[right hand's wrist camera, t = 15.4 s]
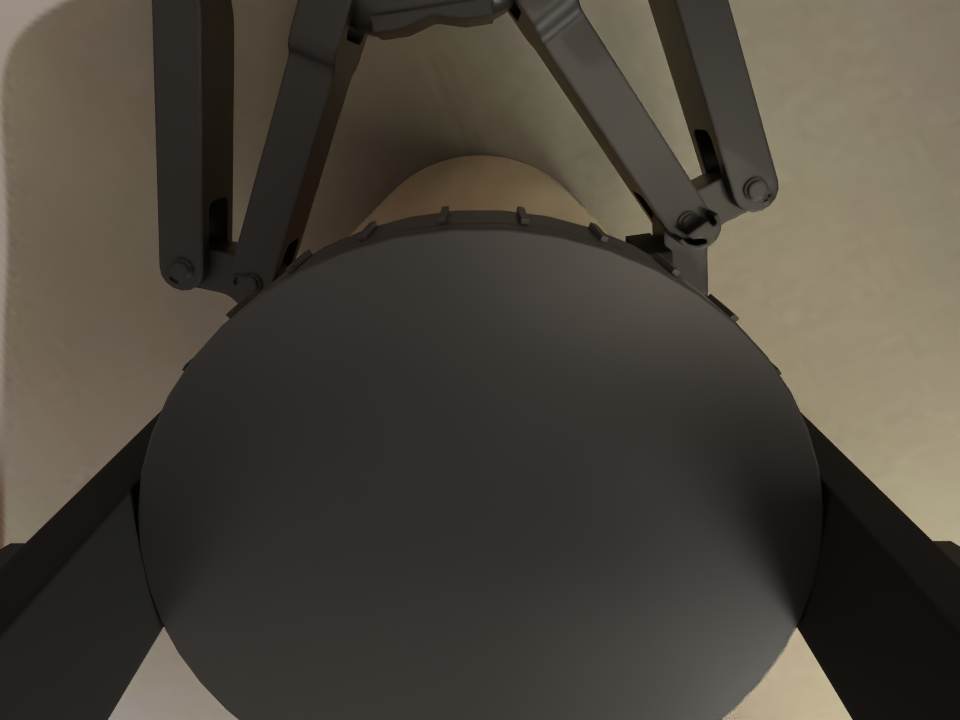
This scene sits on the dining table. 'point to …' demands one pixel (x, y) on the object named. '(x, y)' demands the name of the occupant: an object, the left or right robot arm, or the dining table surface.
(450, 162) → the jar
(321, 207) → the dining table surface
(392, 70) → the dining table surface
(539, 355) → the lid
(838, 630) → the right robot arm
